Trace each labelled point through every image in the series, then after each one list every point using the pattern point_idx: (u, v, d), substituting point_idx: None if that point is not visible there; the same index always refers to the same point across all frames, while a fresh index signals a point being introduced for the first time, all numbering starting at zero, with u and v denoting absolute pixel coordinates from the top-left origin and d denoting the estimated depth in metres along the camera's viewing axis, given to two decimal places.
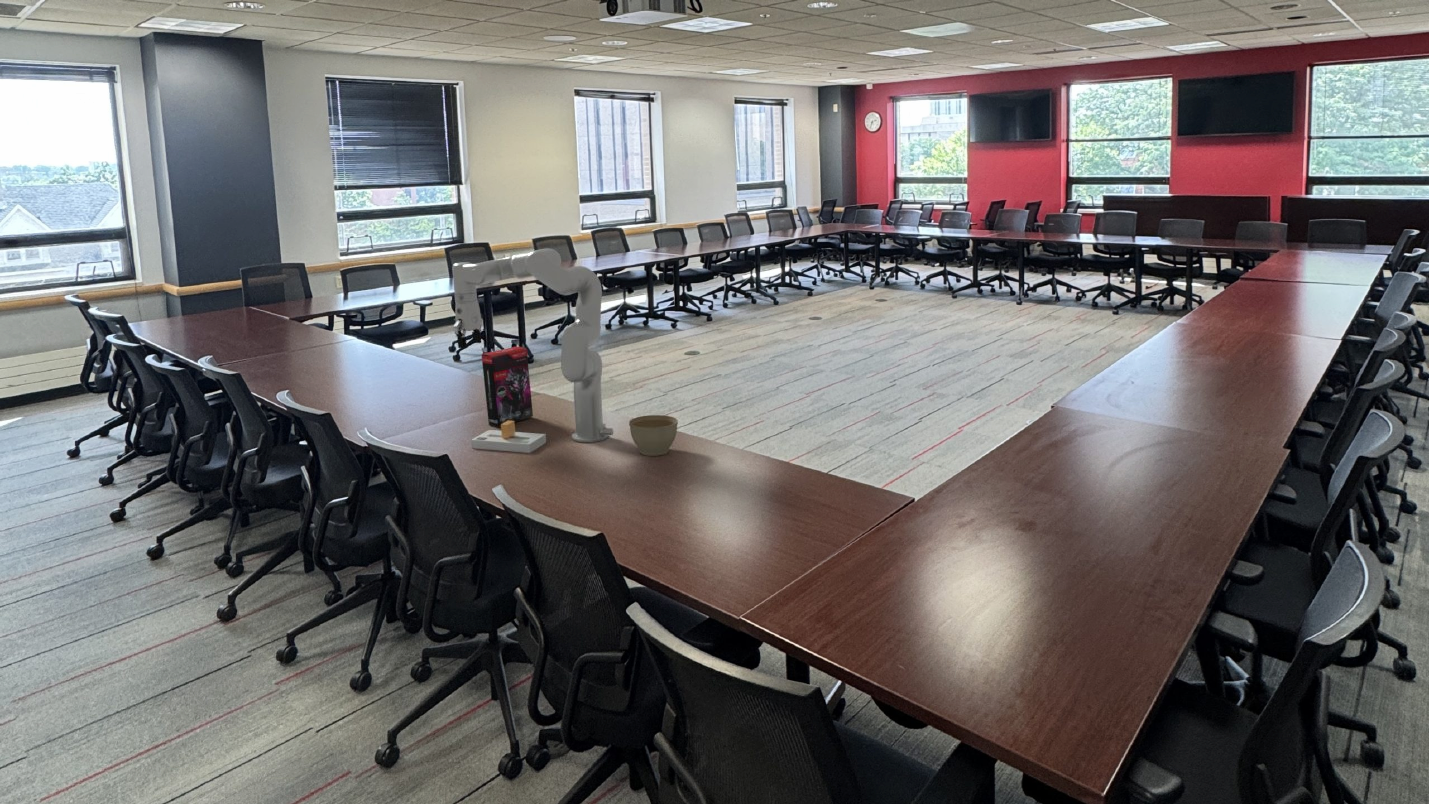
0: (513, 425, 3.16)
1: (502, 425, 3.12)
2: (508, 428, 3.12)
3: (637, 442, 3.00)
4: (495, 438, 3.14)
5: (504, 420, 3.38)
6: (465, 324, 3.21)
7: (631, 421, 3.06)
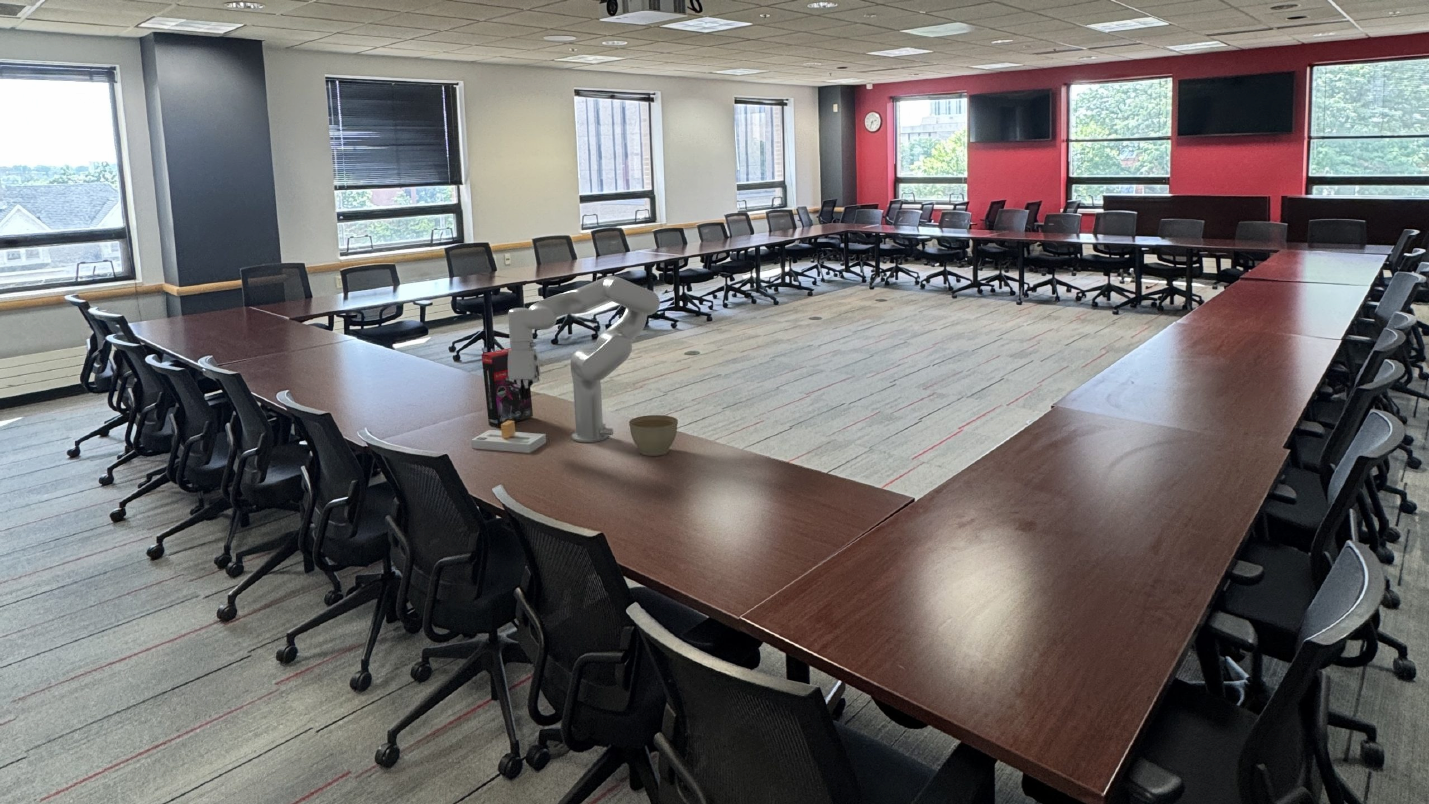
0: (513, 425, 3.16)
1: (502, 425, 3.12)
2: (508, 428, 3.12)
3: (637, 442, 3.00)
4: (495, 438, 3.14)
5: (504, 420, 3.38)
6: (539, 369, 3.08)
7: (631, 421, 3.06)
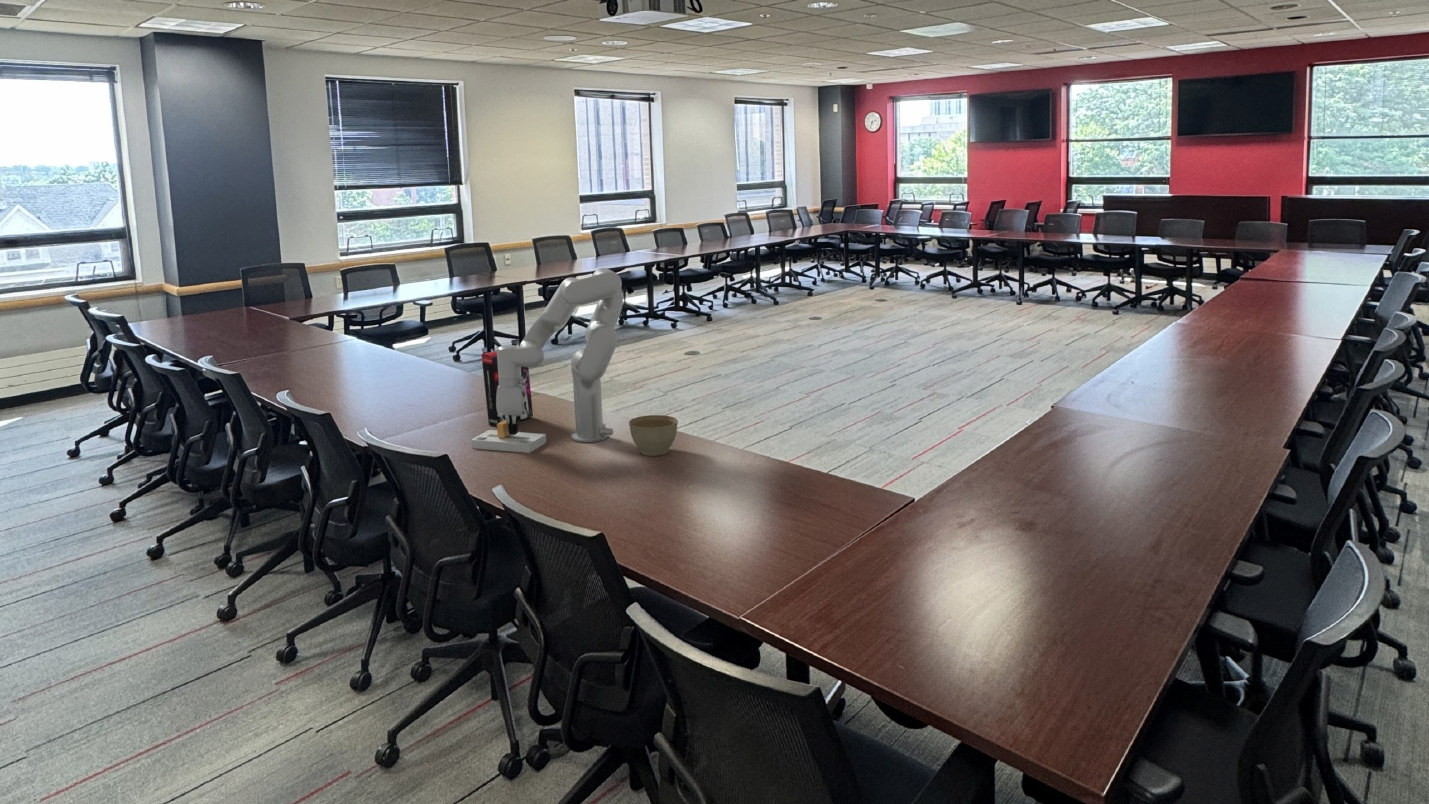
0: None
1: (498, 425, 3.13)
2: (503, 428, 3.13)
3: (637, 442, 3.00)
4: (495, 438, 3.14)
5: None
6: (527, 405, 3.12)
7: (631, 421, 3.06)
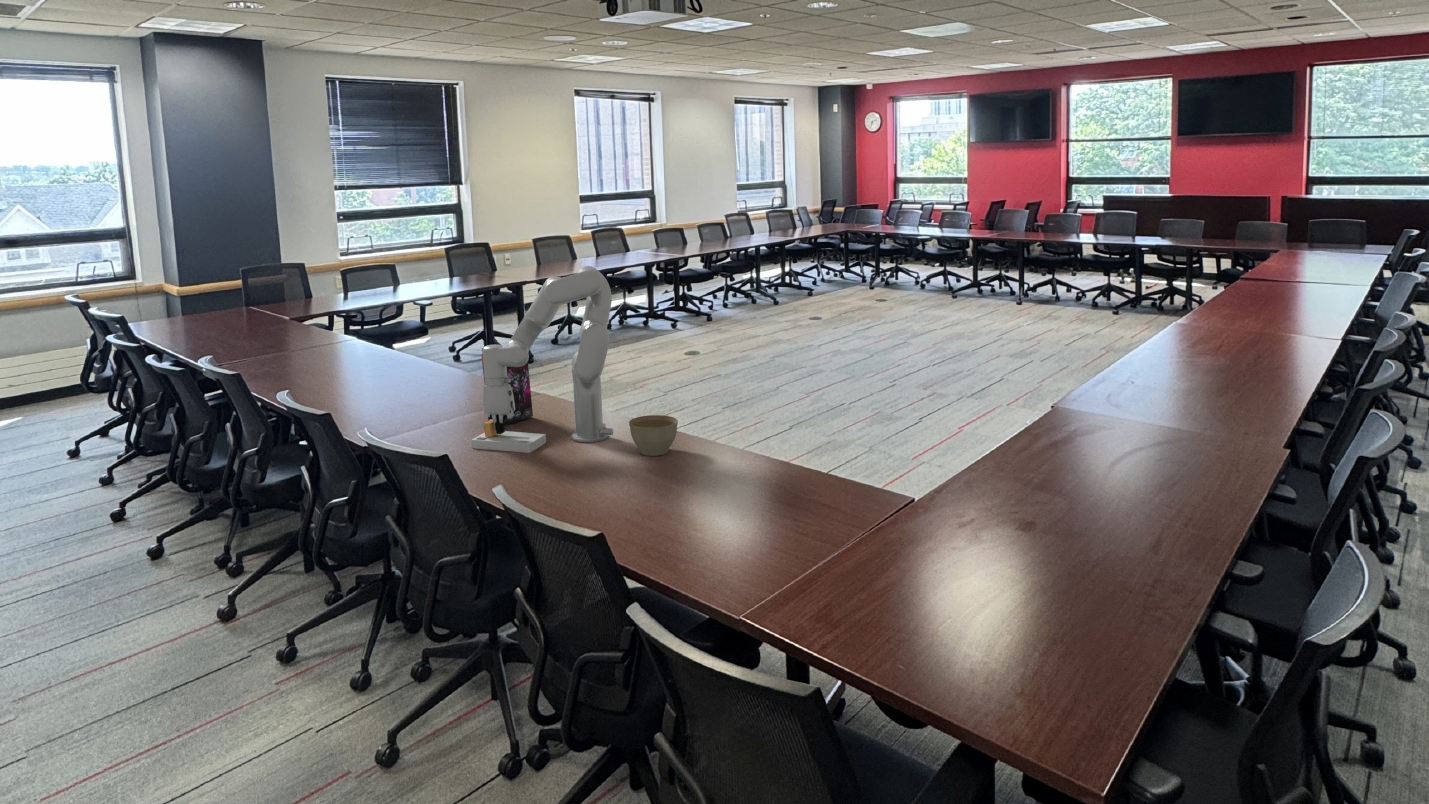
0: None
1: (485, 424, 3.14)
2: (491, 427, 3.14)
3: (637, 442, 3.00)
4: (495, 438, 3.14)
5: None
6: (514, 404, 3.14)
7: (631, 421, 3.06)
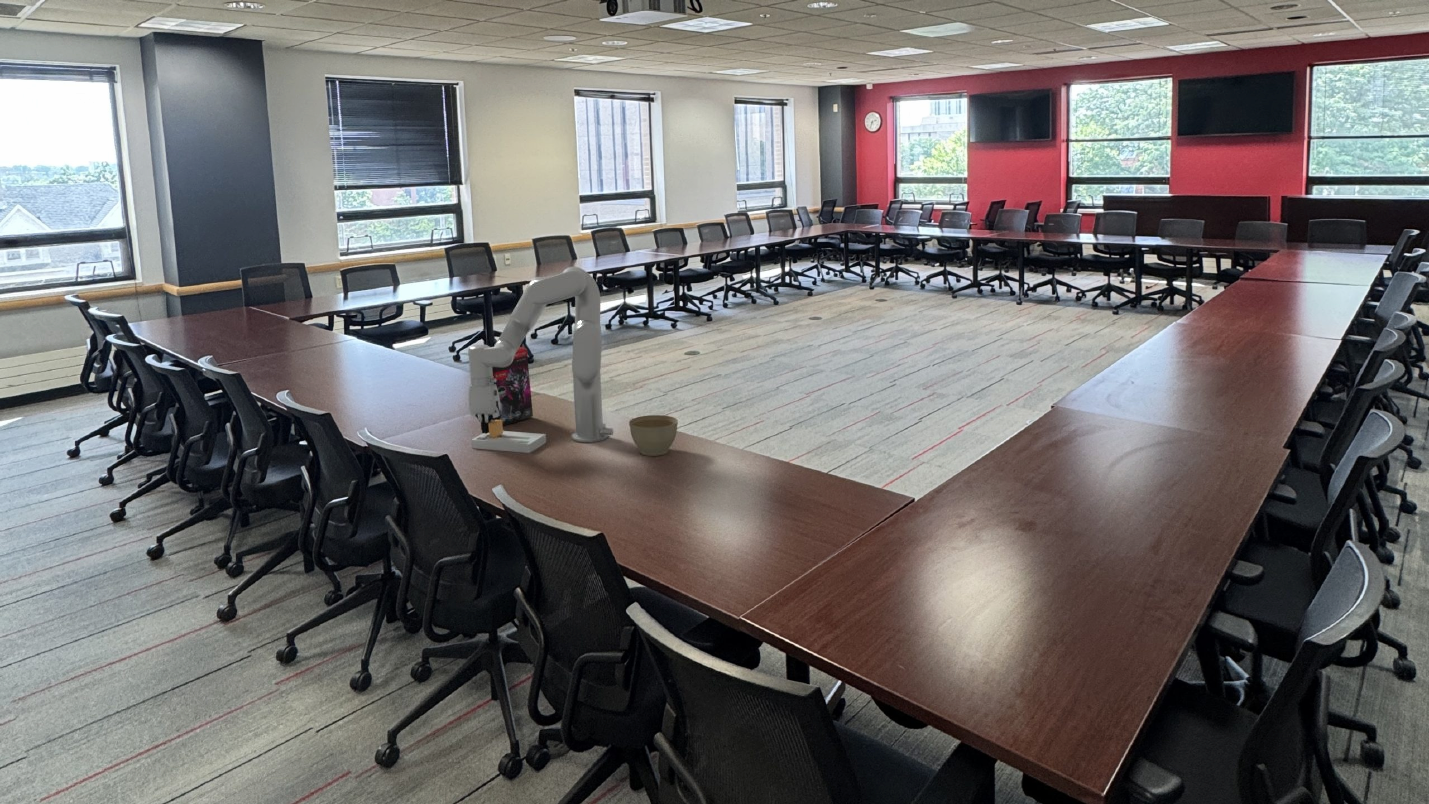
0: (501, 424, 3.17)
1: (490, 424, 3.13)
2: (495, 427, 3.14)
3: (637, 442, 3.00)
4: (495, 438, 3.14)
5: (504, 420, 3.38)
6: None
7: (631, 421, 3.06)
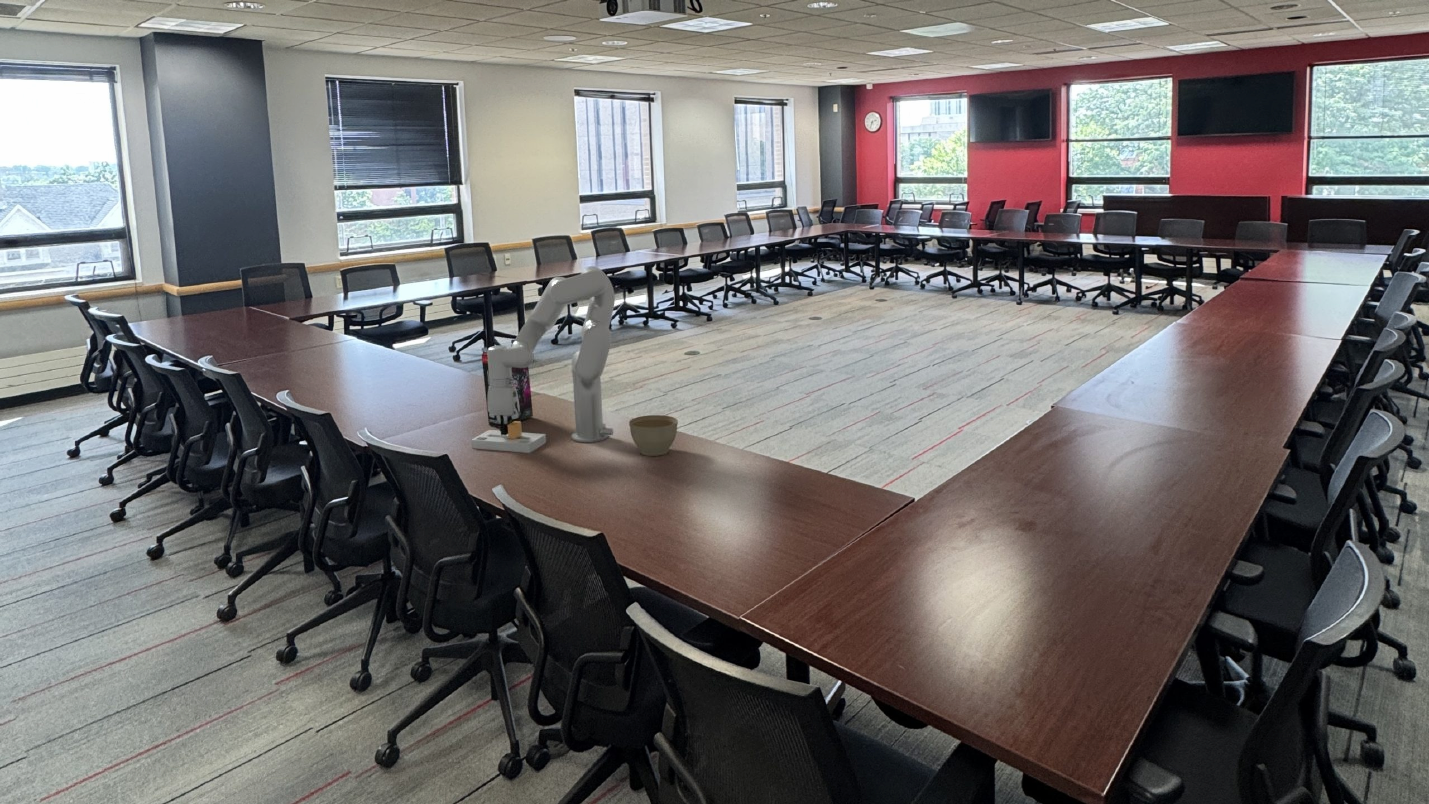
0: (520, 425, 3.15)
1: (509, 426, 3.11)
2: (514, 429, 3.11)
3: (637, 442, 3.00)
4: (495, 438, 3.14)
5: None
6: None
7: (631, 421, 3.06)
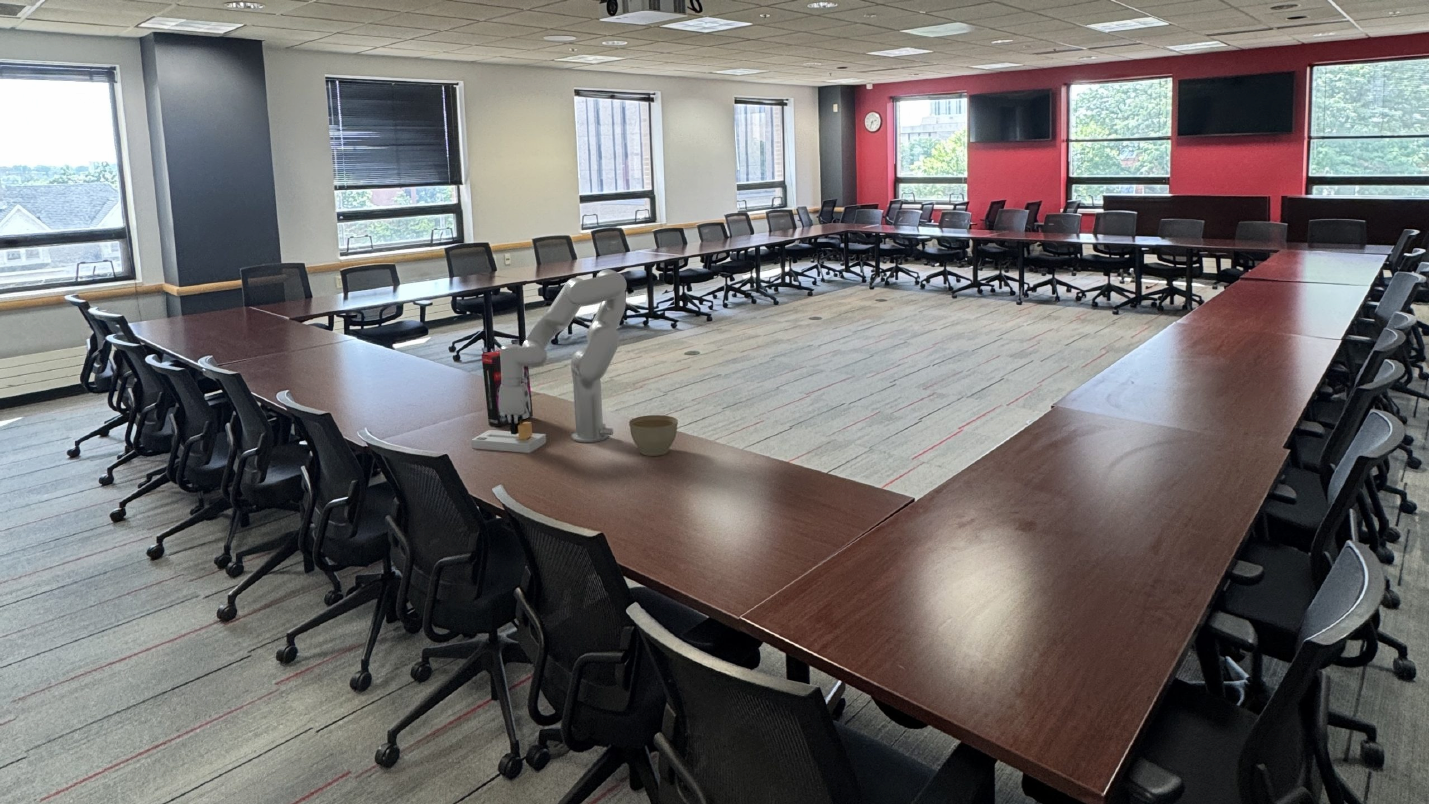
0: (530, 426, 3.14)
1: (519, 426, 3.10)
2: (525, 429, 3.10)
3: (637, 442, 3.00)
4: (495, 438, 3.14)
5: (504, 420, 3.38)
6: None
7: (631, 421, 3.06)
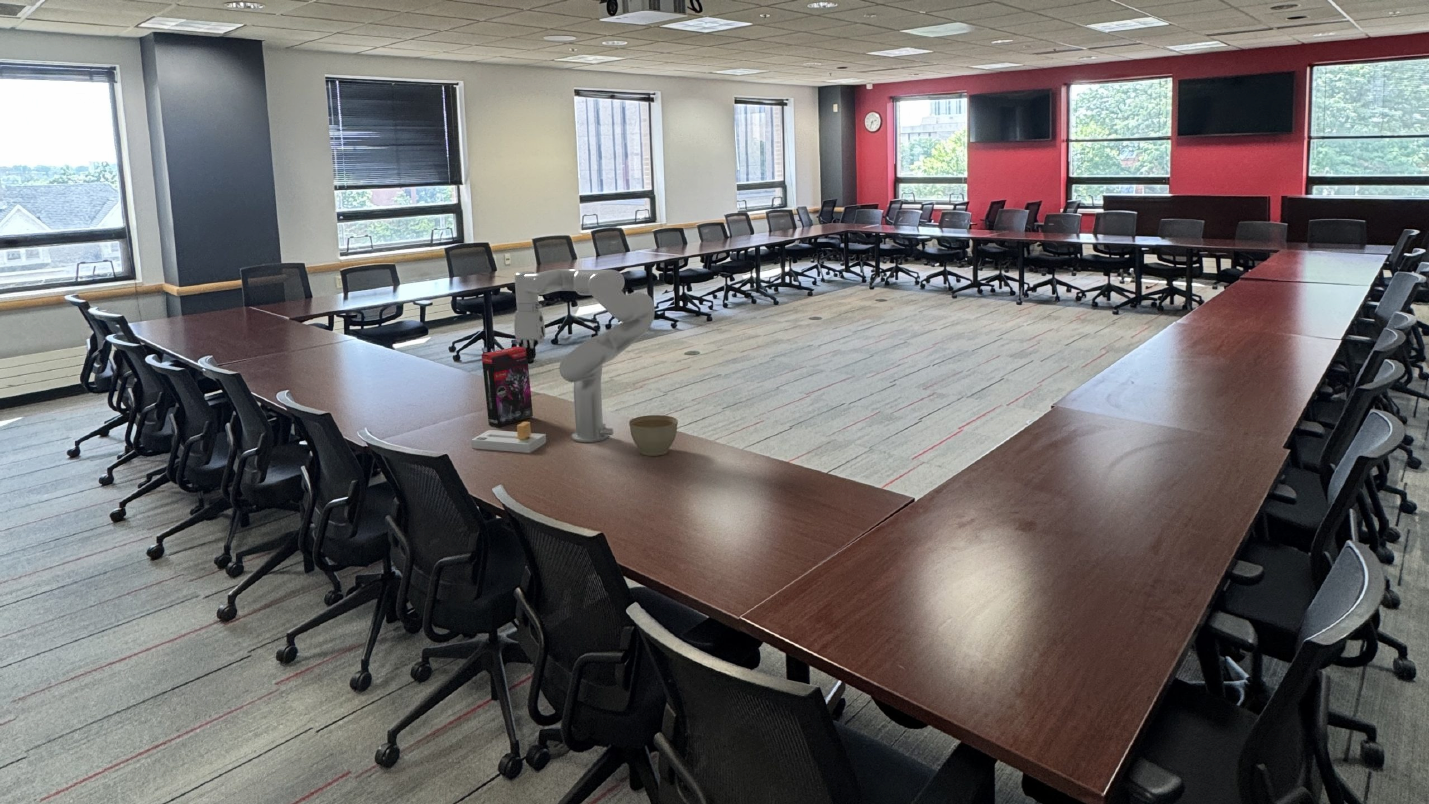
0: (529, 426, 3.14)
1: (518, 426, 3.10)
2: (524, 429, 3.10)
3: (637, 442, 3.00)
4: (495, 438, 3.14)
5: (504, 420, 3.38)
6: (544, 330, 3.22)
7: (631, 421, 3.06)
